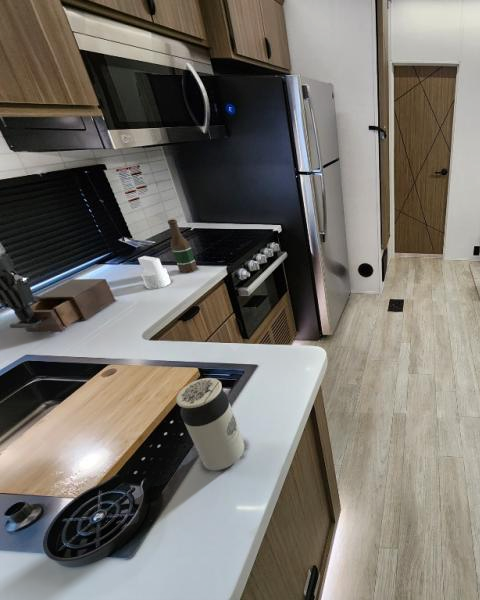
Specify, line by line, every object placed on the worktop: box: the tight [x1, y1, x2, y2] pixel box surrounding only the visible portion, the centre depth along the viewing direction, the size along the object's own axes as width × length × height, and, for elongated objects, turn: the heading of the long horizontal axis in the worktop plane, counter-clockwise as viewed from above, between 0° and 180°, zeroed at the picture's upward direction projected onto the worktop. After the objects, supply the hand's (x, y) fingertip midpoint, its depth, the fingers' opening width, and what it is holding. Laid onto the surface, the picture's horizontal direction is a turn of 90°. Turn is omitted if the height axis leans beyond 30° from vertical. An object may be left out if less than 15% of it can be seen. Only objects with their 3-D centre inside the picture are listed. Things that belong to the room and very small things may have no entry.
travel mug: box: [175, 377, 245, 471], centre depth 66 cm, size 8×8×18 cm
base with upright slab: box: [137, 255, 172, 290], centre depth 141 cm, size 9×9×12 cm
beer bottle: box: [167, 219, 198, 274], centre depth 151 cm, size 8×8×24 cm
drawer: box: [9, 299, 82, 333], centre depth 112 cm, size 18×11×8 cm, turn 1°
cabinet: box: [36, 278, 117, 321], centre depth 122 cm, size 15×13×10 cm
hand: (32, 325), depth 106 cm, fingers closed
